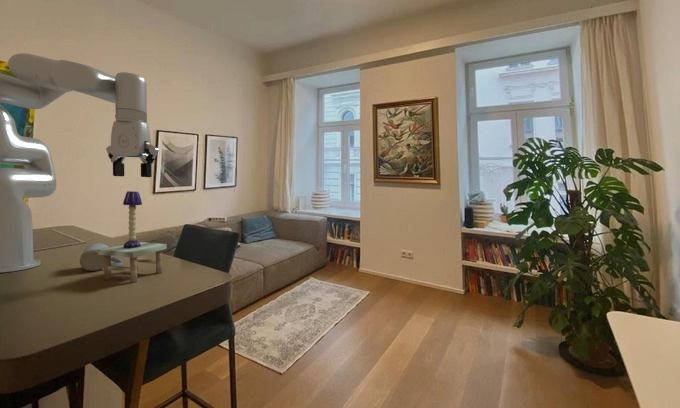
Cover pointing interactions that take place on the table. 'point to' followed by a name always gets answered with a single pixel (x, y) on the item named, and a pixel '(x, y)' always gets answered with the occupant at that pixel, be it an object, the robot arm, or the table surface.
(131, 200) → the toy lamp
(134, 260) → the footstool
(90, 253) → the ceramic mug
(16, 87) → the robot arm
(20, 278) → the table surface
